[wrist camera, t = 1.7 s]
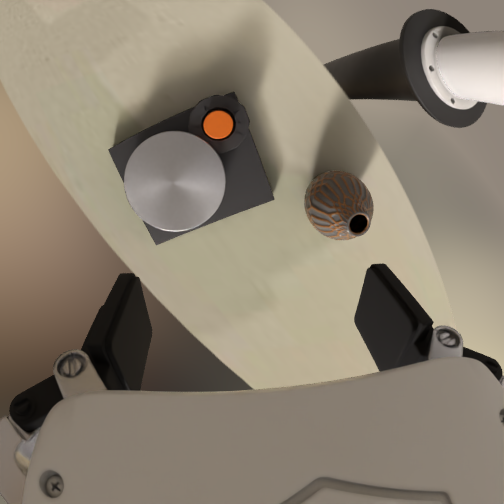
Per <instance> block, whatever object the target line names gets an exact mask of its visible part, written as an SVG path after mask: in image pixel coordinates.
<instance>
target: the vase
mask: <svg viewBox="0 0 504 504" xmlns="http://www.w3.org/2000/svg"><path fill="white" fill-rule="evenodd" d="M305 211H306V214H307V216H308V218H309V220H310V222H311V224H312V225H313V226H314V227H315V229H316V230H318V231H319V232H320V233H321V234H323V235H325V236H327V237H329V238H332V239H335V240H349V239H352V238H355V237H357V236H361V235H363V234H365V233H366V232H367V231H368V229H369V227H370V224H371V219H372V216H373V201H372V197H371V195H370V192H369V190H368V189H367V187H366V186H365V184H364V183H363V182H362V181H361V180H360V179H358V178H357V177H355V176H354V175H352V174H349V173H347V172H344V171H328V172H325V173H322V174H320V175H319V176H317V177H316V178H315V179H314V180H313V181H312V182H311V183H310V185H309V186H308V188H307V191H306V194H305Z"/></svg>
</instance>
